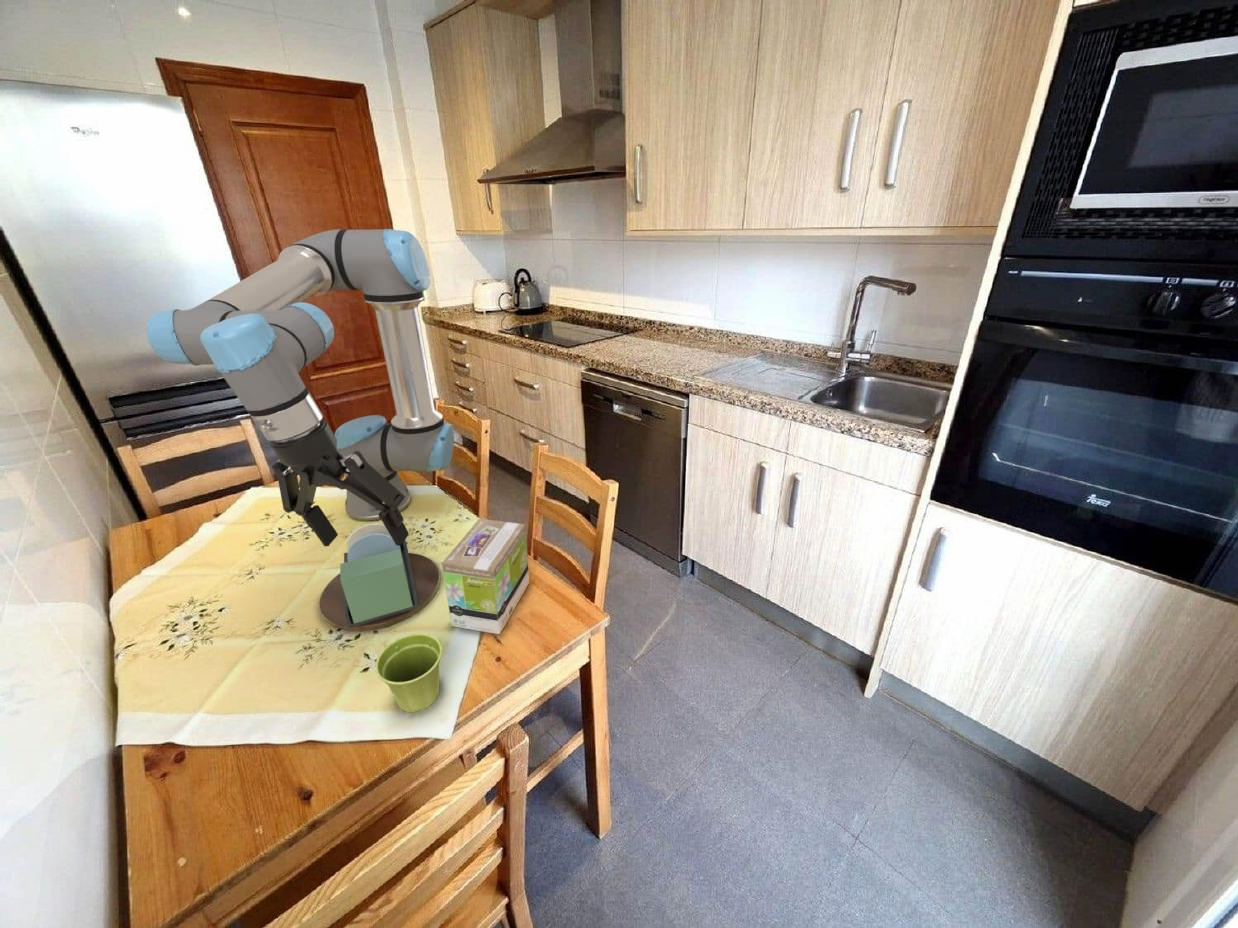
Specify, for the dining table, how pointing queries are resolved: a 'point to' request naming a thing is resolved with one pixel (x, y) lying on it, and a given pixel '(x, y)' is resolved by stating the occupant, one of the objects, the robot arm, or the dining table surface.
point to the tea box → (486, 575)
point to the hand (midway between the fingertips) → (366, 540)
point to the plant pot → (411, 670)
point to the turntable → (425, 589)
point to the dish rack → (376, 576)
